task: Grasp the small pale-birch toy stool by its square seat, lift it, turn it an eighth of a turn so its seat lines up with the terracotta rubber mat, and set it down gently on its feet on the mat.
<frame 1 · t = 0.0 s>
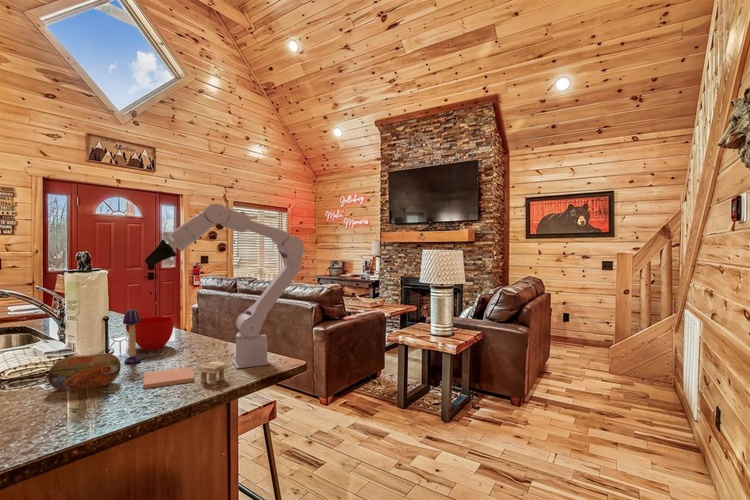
hand: (147, 262, 105), 32 cm above the table, tool tilted 50°, fingers open, 7 cm apart
mat: (169, 378, 105), on the table
toy stool: (212, 381, 104), on the table
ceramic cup: (147, 348, 134), on the table
toy lamp: (131, 363, 118), on the table
tin: (86, 387, 98), on the table
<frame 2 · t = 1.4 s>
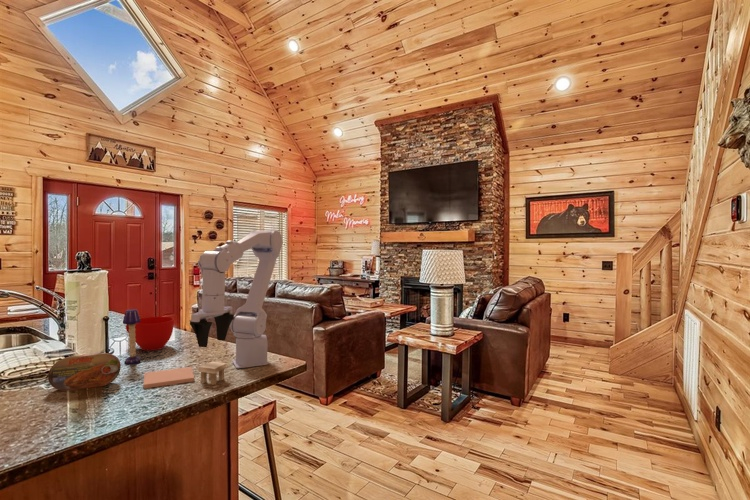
hand: (212, 343, 104), 11 cm above the table, tool pointing down, fingers open, 7 cm apart
nothing on the table moved.
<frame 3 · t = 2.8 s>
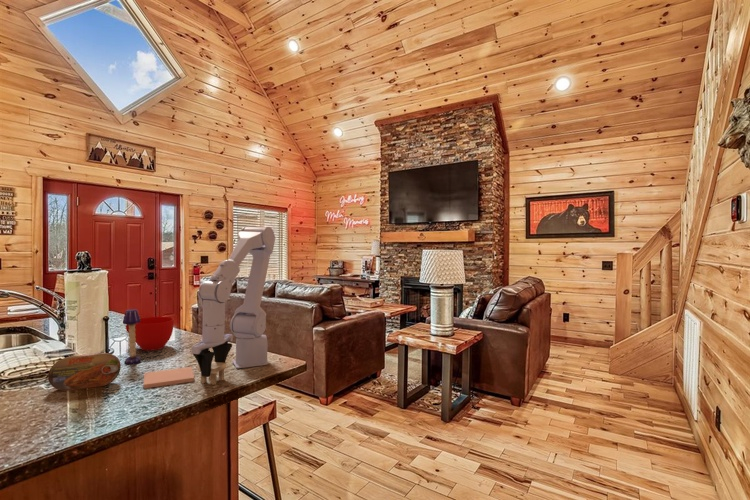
hand: (212, 372, 104), 2 cm above the table, tool pointing down, fingers closed on toy stool, 5 cm apart
toy stool: (212, 381, 104), on the table, touching gripper
everything else where it was.
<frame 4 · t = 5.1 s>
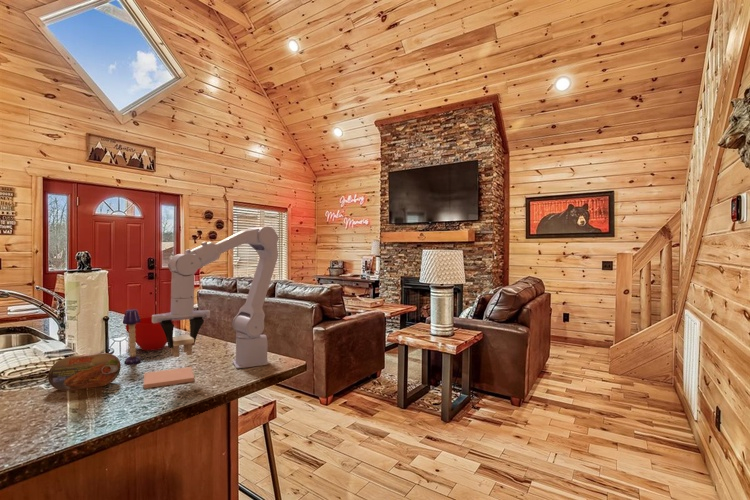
hand: (181, 345, 105), 9 cm above the table, tool pointing down, fingers closed on toy stool, 5 cm apart
toy stool: (181, 354, 105), point 7 cm above the table, touching gripper
everything else where it was.
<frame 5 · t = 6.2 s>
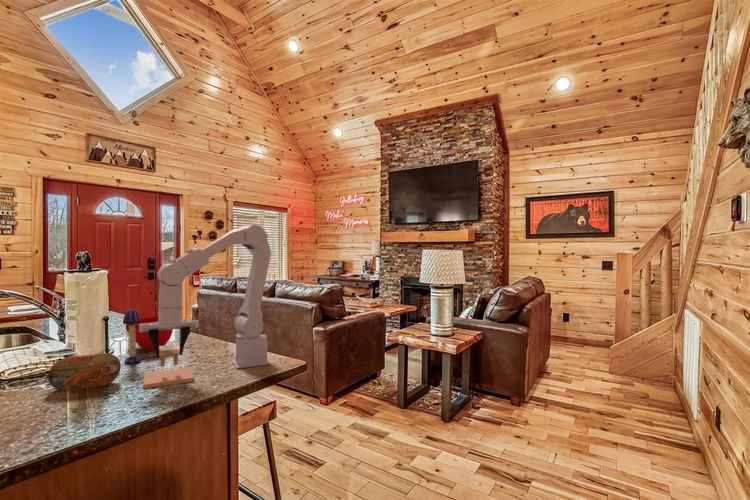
hand: (169, 355, 105), 7 cm above the table, tool pointing down, fingers closed on toy stool, 5 cm apart
toy stool: (169, 363, 105), point 4 cm above the table, touching gripper
everything else where it was.
when the fingers open (5 cm above the table, at t = 7.2 s): toy stool drops 1 cm, resting on mat.
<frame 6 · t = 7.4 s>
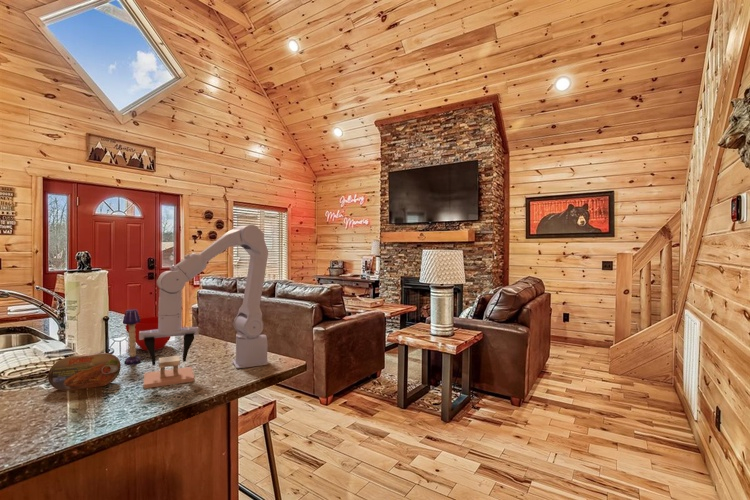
hand: (169, 362, 105), 5 cm above the table, tool pointing down, fingers open, 7 cm apart
toy stool: (169, 375, 105), point 1 cm above the table, touching mat
everything else where it was.
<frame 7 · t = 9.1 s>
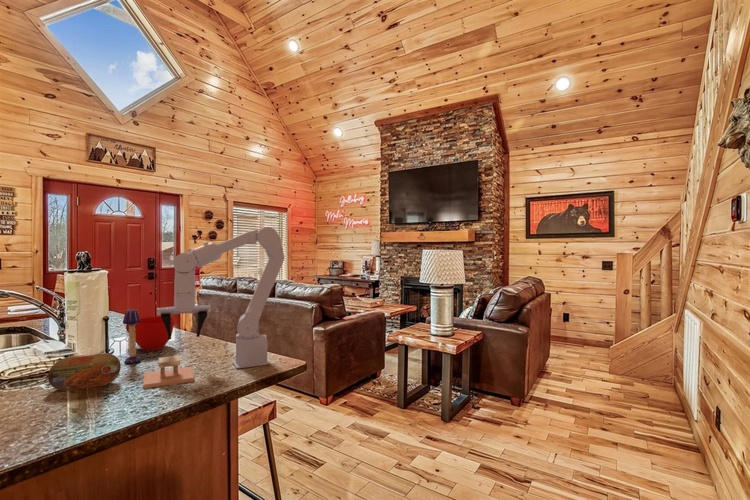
hand: (184, 337, 114), 9 cm above the table, tool pointing down, fingers open, 7 cm apart
nothing on the table moved.
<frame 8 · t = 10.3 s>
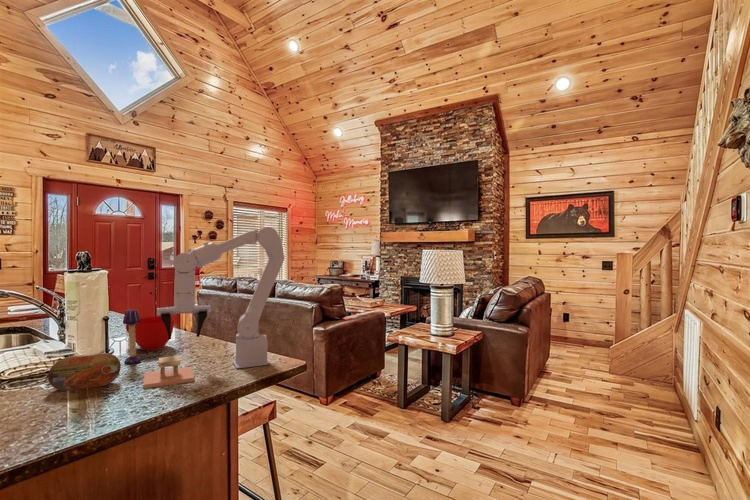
hand: (184, 337, 114), 9 cm above the table, tool pointing down, fingers open, 7 cm apart
nothing on the table moved.
at the end: toy stool inside the target area on the mat (0.0 cm from its centre), point 1.0 cm above the mat's base; toy stool tilted 0°; the gripper is holding nothing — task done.
